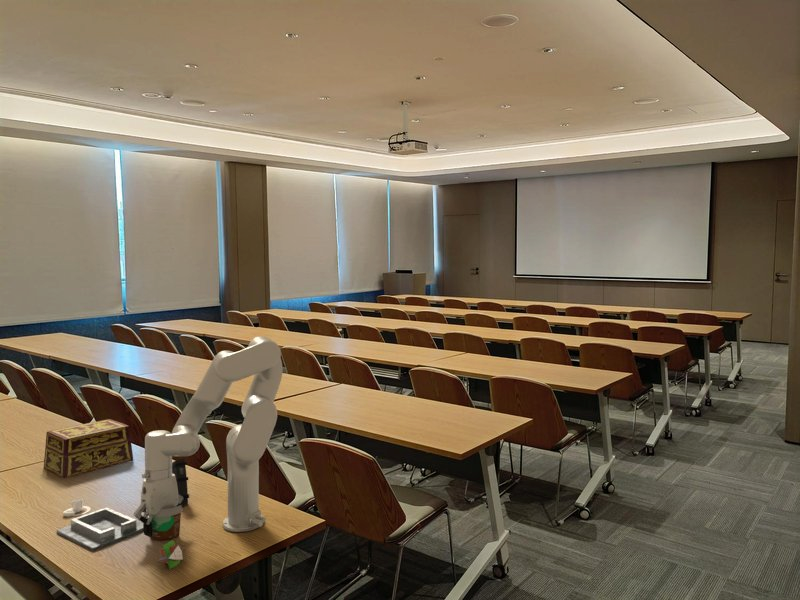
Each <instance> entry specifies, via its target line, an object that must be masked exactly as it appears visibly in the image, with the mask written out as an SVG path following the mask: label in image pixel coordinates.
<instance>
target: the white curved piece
mask: <svg viewBox="0 0 800 600" xmlns="http://www.w3.org/2000/svg"><path fill="white" fill-rule="evenodd" d="M82 509H86V510H85V511H84V512H82V513H80V512H81V511H82ZM91 509H92V507H91V506H87V505H85V499H83V498H74V499H72V500H71V507H70V508H68V509H66V510H64V511H63V512H62V515H63V516H64V517H79V516H83V515H86V514H88V513H90V512H91ZM76 513H78V514H76Z"/></svg>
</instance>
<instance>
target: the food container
mask: <svg viewBox="0 0 800 600" xmlns="http://www.w3.org/2000/svg"><path fill="white" fill-rule="evenodd" d="M183 511H184V510H183V506H181V505H180V506H177V507H173V508H169V509H161V511H160V513H159V514H156V515H153V517H152V520H151V522H150V523H152V537H149V538H150V540H152V541H154V542H167V541H168V542H169V541H171V540H175V539H177V538H179V537H180V533H181V531H180V530H181V520H182V518H181V516H182V513H183Z"/></svg>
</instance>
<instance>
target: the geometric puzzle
mask: <svg viewBox="0 0 800 600" xmlns="http://www.w3.org/2000/svg"><path fill="white" fill-rule="evenodd" d="M181 547H182V548H181ZM181 547H180V544H175V539H172V540H169V541H168V542H166V543H165V544H163V545H162V546H161V548H160V549H159V553H158V558H157V560H156V562H158V563H161V564H164V565H165V567H168V570H169V571H170V570H172V569H173V568H174V567H176V566H177V565H179V564H181V562H182V561H183V560H184V558H183V557H184V555H183V552H185V550H186V547H185V546H184V545H181ZM182 550H183V551H182ZM160 554H161V557H162V558H160V559H159V557H160ZM161 561H164V562H161ZM167 564H168V565H167Z"/></svg>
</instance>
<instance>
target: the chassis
mask: <svg viewBox="0 0 800 600" xmlns="http://www.w3.org/2000/svg"><path fill="white" fill-rule="evenodd" d="M140 533H144V532H143V522H141V521H140V520H138V519H137V518H136V519H135V518H133V517H130V516H128V515H126V514H125V513H124V514H123V513H121V512H119V511H117V510H115V509H111V508H109V507H104V508H101V509H97V510H94V511H93V512H88V513H85V514H82V515H79V516H76V517H75V518H72V519H70V525H67V526H64V527H62V528H59V529H57V530H56V534H57V535H59V536H61V537H64V538H65V539H67V540H70V541H71V542H73V543H75V544H77V545H79V546H81V547H83V548H85V549H87V550H89V551H91V552H95V551H98V550H100V549H103V548H105V547H107V546H110V545H112V544H114V543H117V542H119V541H123V540H124V539H127V538H130V537H132V536H133V537H134V536H135V535H137V534H140Z"/></svg>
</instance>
